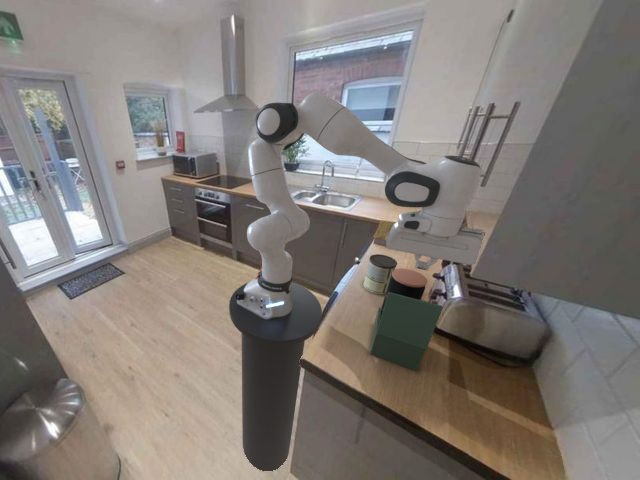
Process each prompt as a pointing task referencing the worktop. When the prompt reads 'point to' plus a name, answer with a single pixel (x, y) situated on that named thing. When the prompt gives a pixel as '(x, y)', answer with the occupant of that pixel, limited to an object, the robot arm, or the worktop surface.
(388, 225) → the small cardboard box
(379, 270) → the coffee can
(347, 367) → the worktop surface
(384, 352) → the chest
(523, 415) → the worktop surface
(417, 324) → the green flat square panel
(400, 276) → the coffee jar
